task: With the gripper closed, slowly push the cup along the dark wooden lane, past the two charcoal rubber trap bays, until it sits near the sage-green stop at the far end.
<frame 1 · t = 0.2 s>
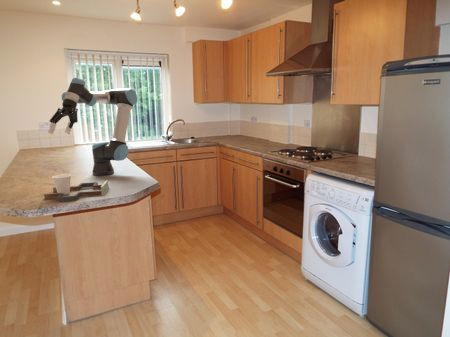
hand: (58, 133, 190), 35 cm above the countertop, tool tilted 35°, fingers open, 13 cm apart
stop block: (104, 187, 197), on the countertop
runway: (78, 193, 195), on the countertop
trap bays: (78, 193, 195), on the countertop
cup: (64, 194, 194), on the countertop
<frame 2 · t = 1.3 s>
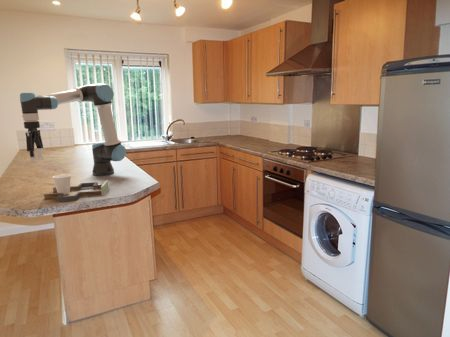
hand: (37, 161, 188), 20 cm above the countertop, tool pointing down, fingers open, 9 cm apart
nothing on the countertop moved.
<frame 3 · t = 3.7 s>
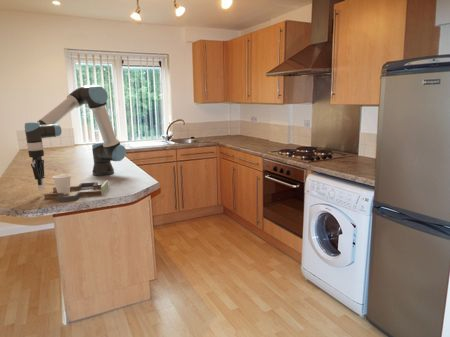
hand: (41, 189, 191), 3 cm above the countertop, tool pointing down, fingers closed
nothing on the countertop moved.
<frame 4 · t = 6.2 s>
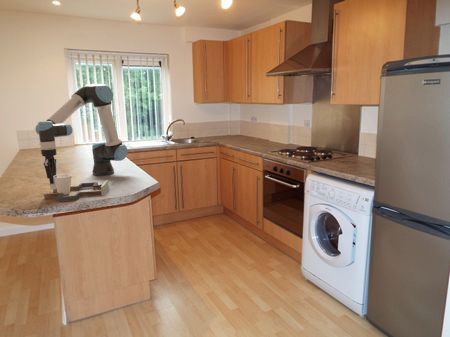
hand: (53, 188, 192), 4 cm above the countertop, tool pointing down, fingers closed
cup: (64, 194, 194), on the countertop, touching gripper
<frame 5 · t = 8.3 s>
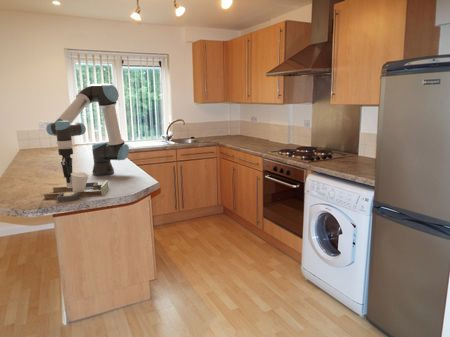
hand: (69, 187, 193), 4 cm above the countertop, tool pointing down, fingers closed
cup: (78, 192, 195), on the countertop, touching gripper
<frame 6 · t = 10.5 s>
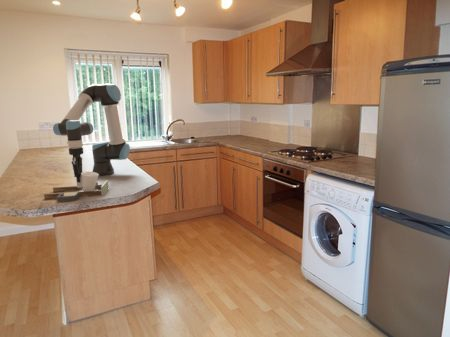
hand: (79, 187, 194), 4 cm above the countertop, tool pointing down, fingers closed
cup: (88, 191, 196), on the countertop, touching gripper
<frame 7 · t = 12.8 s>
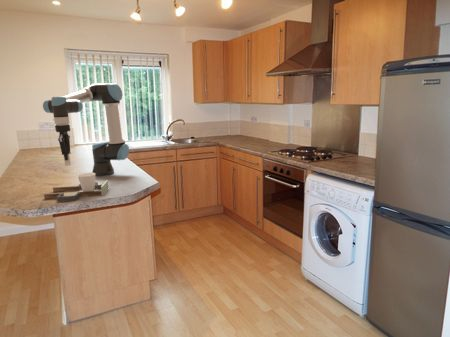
hand: (67, 165, 191), 17 cm above the countertop, tool pointing down, fingers closed
cup: (88, 192, 196), on the countertop
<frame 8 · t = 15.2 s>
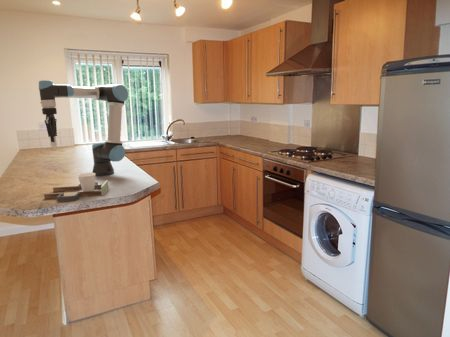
hand: (54, 147, 199), 26 cm above the countertop, tool pointing down, fingers closed
nothing on the countertop moved.
at the end: cup 1.6 cm from the target spot on the runway, point 0.0 cm above the runway's base; cup tilted 0° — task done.
